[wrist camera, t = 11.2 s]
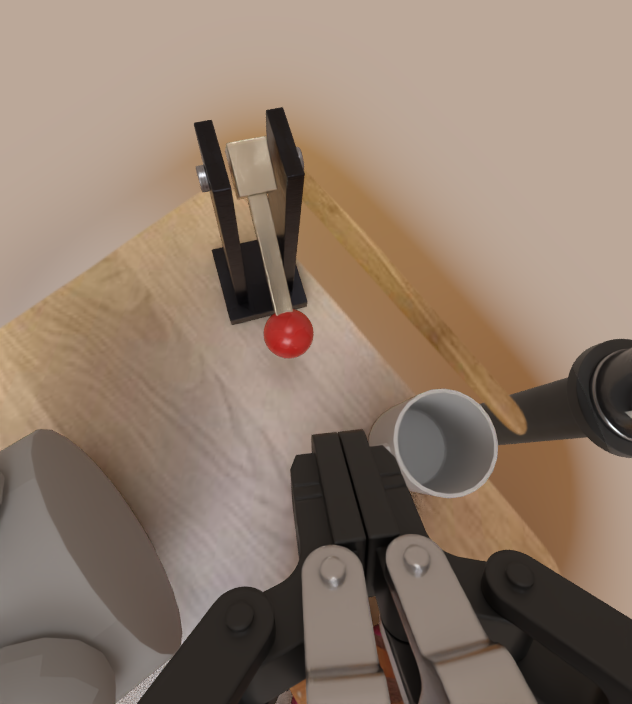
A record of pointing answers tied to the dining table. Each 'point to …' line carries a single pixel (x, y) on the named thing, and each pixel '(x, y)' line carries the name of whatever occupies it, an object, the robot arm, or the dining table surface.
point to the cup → (439, 442)
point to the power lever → (268, 245)
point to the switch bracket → (285, 204)
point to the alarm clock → (75, 581)
